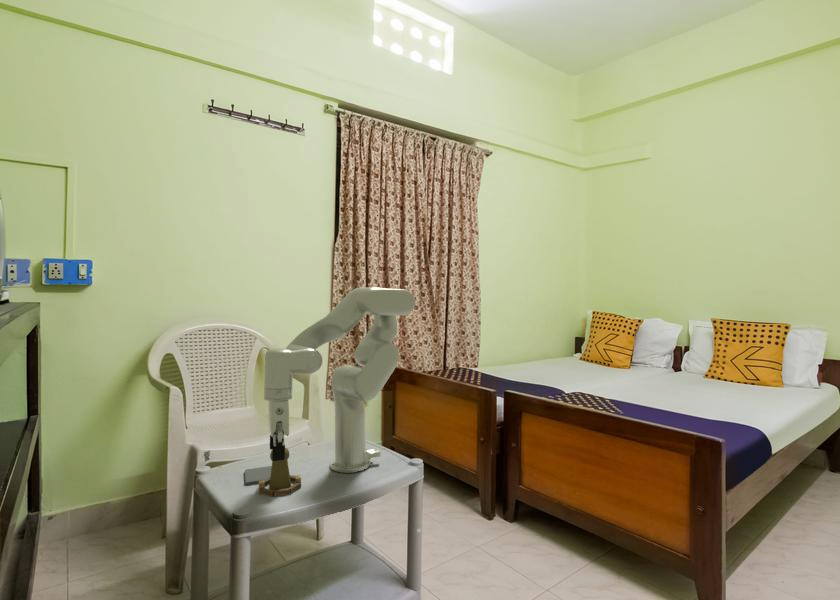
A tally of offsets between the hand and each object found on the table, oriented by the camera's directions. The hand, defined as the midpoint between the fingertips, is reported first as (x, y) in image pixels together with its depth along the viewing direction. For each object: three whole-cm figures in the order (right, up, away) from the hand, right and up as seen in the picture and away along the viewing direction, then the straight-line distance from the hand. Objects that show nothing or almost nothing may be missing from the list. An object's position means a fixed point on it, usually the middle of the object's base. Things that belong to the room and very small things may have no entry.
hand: (276, 454), depth 128 cm
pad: (-7, -9, +9) cm, 14 cm away
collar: (+1, -10, +1) cm, 10 cm away
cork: (+1, -10, +1) cm, 10 cm away
